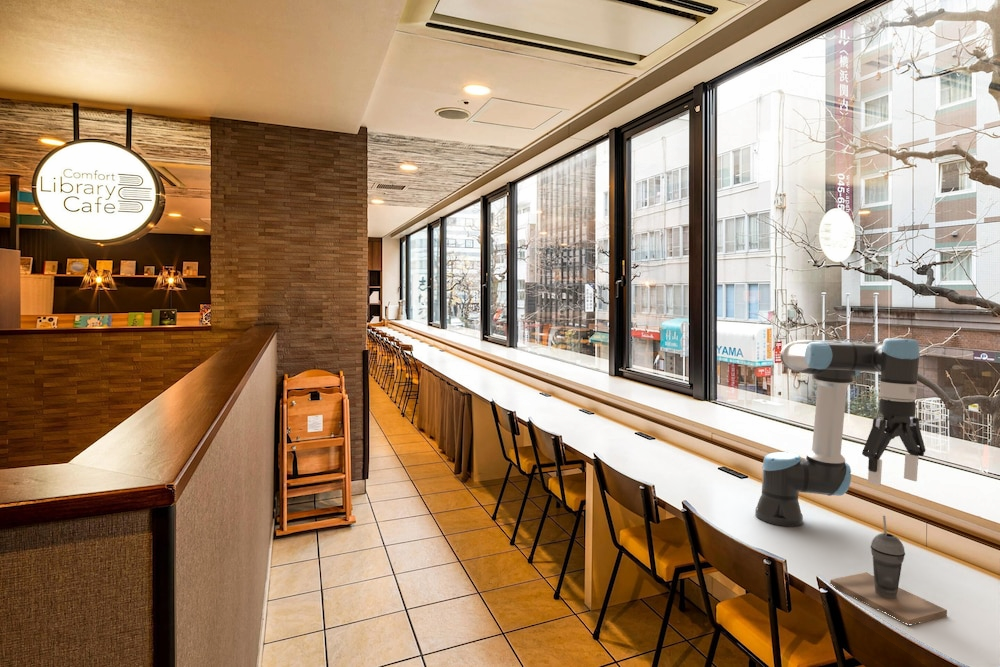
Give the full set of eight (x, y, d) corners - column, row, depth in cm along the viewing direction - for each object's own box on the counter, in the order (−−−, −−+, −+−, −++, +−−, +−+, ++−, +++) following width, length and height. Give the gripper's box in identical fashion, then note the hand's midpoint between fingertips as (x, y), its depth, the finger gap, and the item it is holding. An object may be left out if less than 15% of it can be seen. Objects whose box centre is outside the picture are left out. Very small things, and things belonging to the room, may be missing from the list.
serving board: (830, 585, 146) (830, 579, 146) (866, 577, 151) (866, 572, 151) (908, 626, 128) (908, 620, 128) (946, 616, 133) (947, 610, 133)
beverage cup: (891, 603, 135) (895, 524, 134) (862, 589, 141) (865, 514, 140) (909, 598, 138) (913, 520, 137) (880, 584, 144) (883, 510, 143)
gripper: (878, 403, 130) (873, 491, 130) (945, 400, 138) (940, 482, 139) (848, 398, 137) (844, 481, 137) (914, 395, 145) (909, 473, 146)
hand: (892, 482), depth 138 cm, fingers open, 13 cm apart
